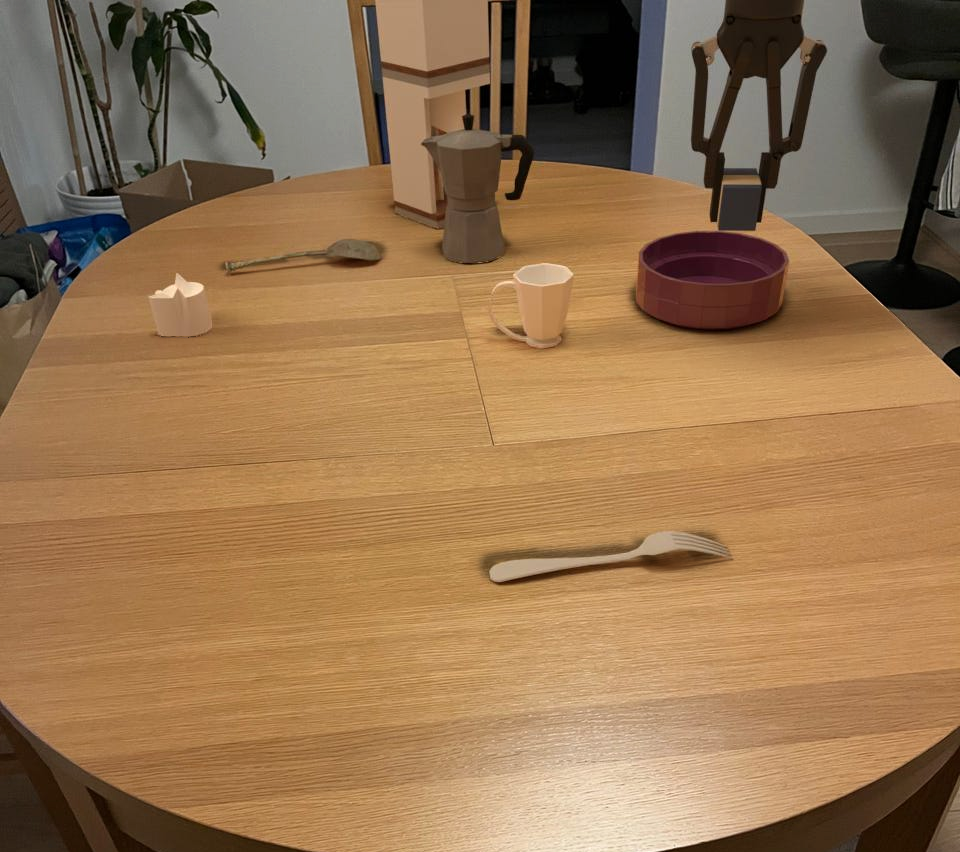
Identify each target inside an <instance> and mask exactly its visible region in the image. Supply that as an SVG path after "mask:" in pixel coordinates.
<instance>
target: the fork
mask: <svg viewBox="0 0 960 852" xmlns="http://www.w3.org/2000/svg"><path fill="white" fill-rule="evenodd" d="M675 550H681V551H682V550H683V551H694V552H699V553H705V554H709V555H715V556H718V557H723V558H727V559H731V560H733V559H734V557H733V556H731V555H732V553H731V552H730V550H729V549H728V545H725V544H723V543H720V542H717V541H715V540H711V539H710V538H706V537H702V536H699V535H695V534H692V533H689V532H683V531H677V530H662V531H658V532H655V533H652V534H649V535H648V536H647V537H646V538H644V539H643V542H642V543H641V544H640V545H639V546H638V548H635V549H633V550H631V551H627V552H621V553H616V554H607V555H606V554H605V555H598V556H597V555H595V556H583V557H555V558H552V557H551V558H550V557H549V558H526V559H514V560H513V559H511V560H507V561H503V562H499V563H496V564H494V565H493V566H492V567H491V568H490V570H489V571H488V573H489V574H488V575H489V579H490V581H493V582H495V583H503V582H507V581H511V580H515V579H521V578H525V577H531V576H535V575H540V574H545V573H550V572H555V571H556V572H557V571H561V570H567V569H572V568H580V567H585V566H592V565H594V566H595V565H601V564H602V565H603V564H607V563H608V564H609V563H615V562H620V561H626V560H629V559H633V558H636V557H639V556H645V555H646V556H647V555H648V556H656V555H660V554H662V553H663V554H664V553H667V552H670V551H671V552H672V551H675Z"/></svg>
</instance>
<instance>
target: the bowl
mask: <svg viewBox="0 0 960 852" xmlns="http://www.w3.org/2000/svg"><path fill="white" fill-rule="evenodd" d="M789 266H790V259H789V256H788V253H787V252H786V250H784V249H783V248H782V247H780V246H779V245H778V244H776V243H774V242H771V241H769V240H767V239H764V238H762V237H759V236H755V235H750V234H746V233H742V232H735V231H719V230H693V231H684V232H676V233H672V234H668V235H663V236H661V237H660V236H659V237H657V238H655V239H653V240H651V241H649V242H647V243H646V244H644V245H643V246H642V248H641V249H640V250H639V251H638V256H637V270H636V271H637V272H636V285H635V302H636V304H637V305H638V306H639V307H640V308H641V310H642V311H643V312H645V313H646V314H648V315H650V316H651V317H653V318H655V319H658V320H660V321H662V322H665V323H667V324H672V325H674V326H678V327H681V328H682V327H683V328H686V329H693V330H703V331H704V330H705V331H706V330H707V331H719V330H720V331H722V330H731V329H738V328H743V327H747V326H750V325H752V324H757V323H760V322H762V321H766V320H768V319H769V318H770V317H772V316H773V315H775V314H777V313H778V312H779V310H780V308H781V306H782V304H783V300H784V295H785V290H786V283H787V278H788V273H789Z"/></svg>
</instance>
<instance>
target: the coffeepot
mask: <svg viewBox="0 0 960 852" xmlns="http://www.w3.org/2000/svg"><path fill="white" fill-rule="evenodd" d="M462 119H463V124H464V129H462V130H458V131H453V132H449V133H447V134H445V135H440V136H434V137H430V138H426V139H425V140H424V141H423V142H422V143H421V145H422V146H424V147H425V148H426V149H427V150H428V152H429V153H430V155H431V156H432V158H433V160H434V161H435V163H436V165H437V166H438V168H439V170H440V171H441V175H442V180H443V185H444V190H445V193H446V194H447V202H448V206H447V207H446V215H445V225H444V228H443V237H442V247H441V249H442V253H443V256H444V255H445V256H444V258H445V257H446V258H445V259H446V260H448V261H450V260H452V261H456V262H462V263H478V262H486V261H491V262H493V261H495V260H494V259H496V258H497V257H499V256H501V255H502V254H503V253H504V254H505V253H506V248H505V242H504V237H503V231H502V225H501V221H500V214H499V209H498V206H497V204H496V193H497V192H498V191H499V183H500V182H499V181H500V176H501V175H500V173H501V165H502V158H503V157H502V155H503V153H506V152H512V151H519V152H520V153H521V156H520V159H519V162H518V169H517V170H518V171H517V174H516V175H515V178H514V188H513V191H511V192H504V197H505V199H506V200H507V201H519V200H520V199H521V197H522V195H523V191H524V188H525V186H526V182H527V179H528V176H529V173H530V169H531V166H532V164H533V161H534V157H535V149H534V146H533V145H532V144H531V142H530V141H529V140H528V139H527V138H526V137H525V135H523V134H500V133H499V132H497V131H496V132H495V131H489V130H483V129H477V128H474V121H475V115H474V114H471V113H466V115H464V116H462ZM502 256H503V255H502ZM502 256H501V257H502ZM499 258H500V257H499ZM492 260H493V261H492ZM496 260H497V259H496ZM452 261H451V262H452ZM486 263H487V262H486Z"/></svg>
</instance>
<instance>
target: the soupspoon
mask: <svg viewBox="0 0 960 852" xmlns="http://www.w3.org/2000/svg"><path fill="white" fill-rule="evenodd" d="M311 256H312V257H313V256H332V257H340V258H341V257H342V258H350V259H360V260H365V261H380V260H381V259H382V258H383V256H382V254H381V253H380V251H379V250H378V249H377V248H375V247H374V246H373V245H372V244H370V243H368V242H366V241H364V240H361V239H356V238H344V239H341V240H337V241H335V242H333V243H332V244H330V245H329V246H328V247H327V248H326V249H318V250H307V251H306V250H305V251H297V252H291V253H285V254H280V255H274V256H267V257H266V256H265V257H262V258H257V259H256V258H255V259H252V260H247V259H244V261H237V262H230V264H229V263H228V261H225V267H226V270H227V272H228V274H229V275H230V274H231V275H232V271H233V272H236V270H239V269H243V268H244V267H249V266H250V265H254V264H255V265H256V264H260V263H268V262H273V261H280V260H287V259H293V258H301V257H311Z"/></svg>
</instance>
